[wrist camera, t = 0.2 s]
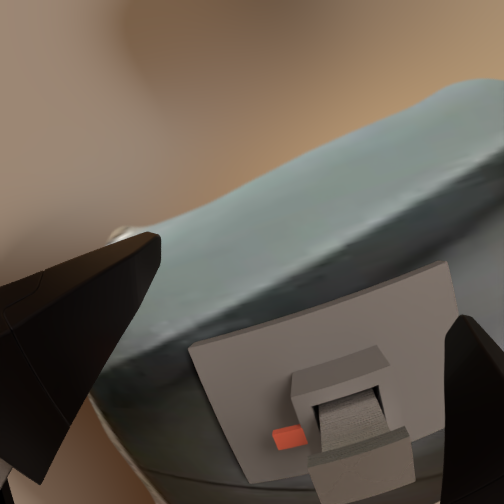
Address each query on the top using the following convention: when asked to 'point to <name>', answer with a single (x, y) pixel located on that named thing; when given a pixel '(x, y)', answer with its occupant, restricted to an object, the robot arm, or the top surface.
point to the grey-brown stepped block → (359, 451)
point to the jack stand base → (330, 369)
